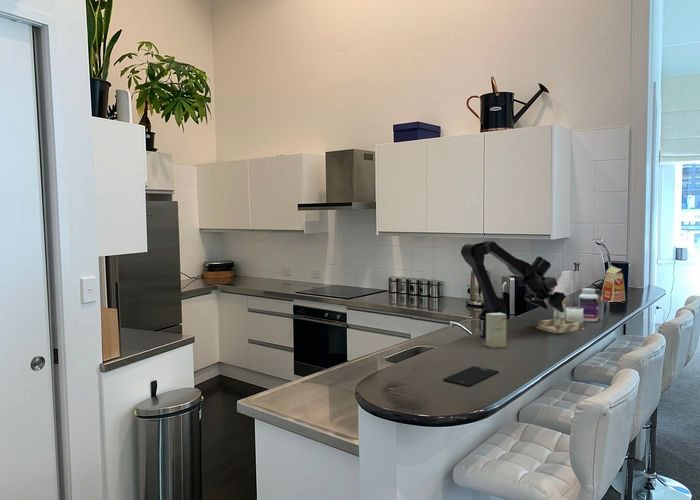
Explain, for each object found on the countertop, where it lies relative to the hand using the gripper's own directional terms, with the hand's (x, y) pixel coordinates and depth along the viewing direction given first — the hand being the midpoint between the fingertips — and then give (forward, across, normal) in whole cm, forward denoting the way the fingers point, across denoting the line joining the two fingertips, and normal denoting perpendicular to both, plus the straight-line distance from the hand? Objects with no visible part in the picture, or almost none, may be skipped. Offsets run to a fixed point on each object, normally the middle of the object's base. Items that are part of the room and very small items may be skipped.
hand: (554, 310), depth 217 cm
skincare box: (-21, -12, +34) cm, 42 cm away
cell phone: (-42, -39, +56) cm, 80 cm away
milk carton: (+62, +41, -52) cm, 91 cm away
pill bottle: (+25, +8, -14) cm, 30 cm away
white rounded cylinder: (+17, +6, -6) cm, 19 cm away
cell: (+7, 0, +3) cm, 8 cm away
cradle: (+8, 0, +4) cm, 9 cm away
